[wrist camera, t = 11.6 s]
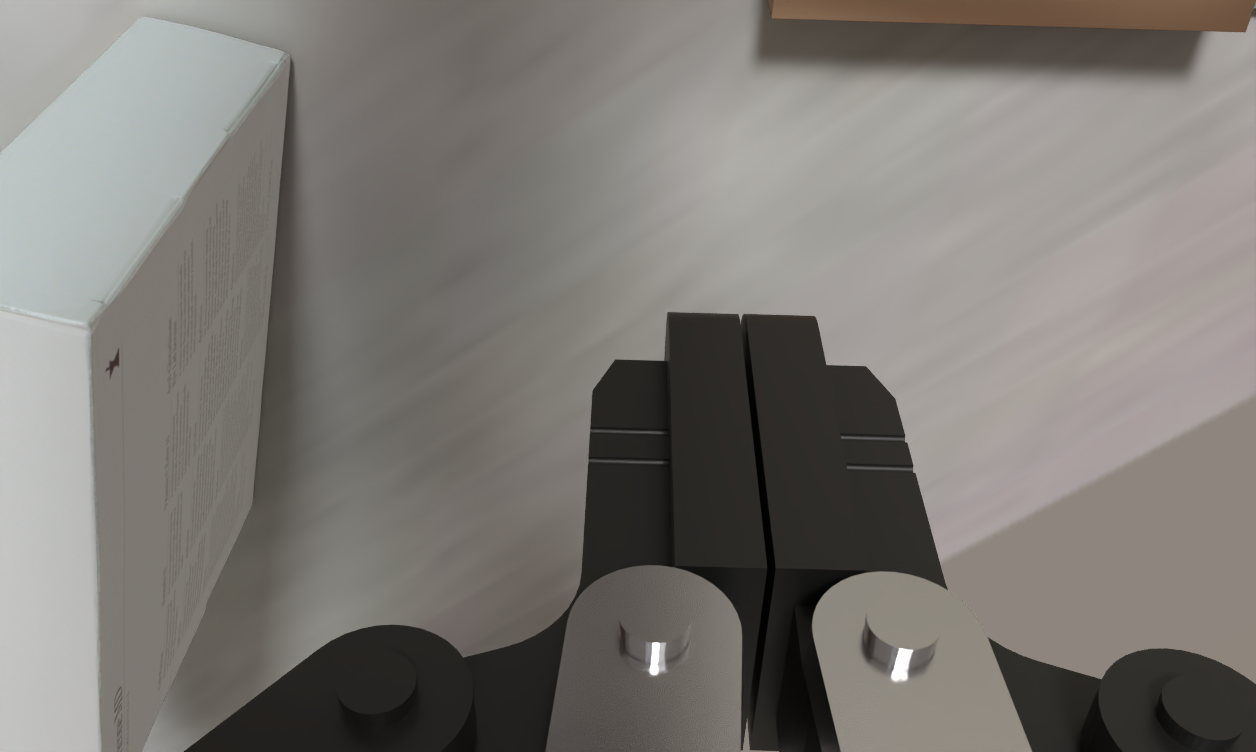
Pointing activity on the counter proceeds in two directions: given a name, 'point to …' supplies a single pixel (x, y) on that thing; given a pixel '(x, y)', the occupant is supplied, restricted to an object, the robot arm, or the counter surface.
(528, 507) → the counter surface
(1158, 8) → the brown flat block
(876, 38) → the counter surface
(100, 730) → the skincare box
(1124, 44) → the counter surface
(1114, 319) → the counter surface
